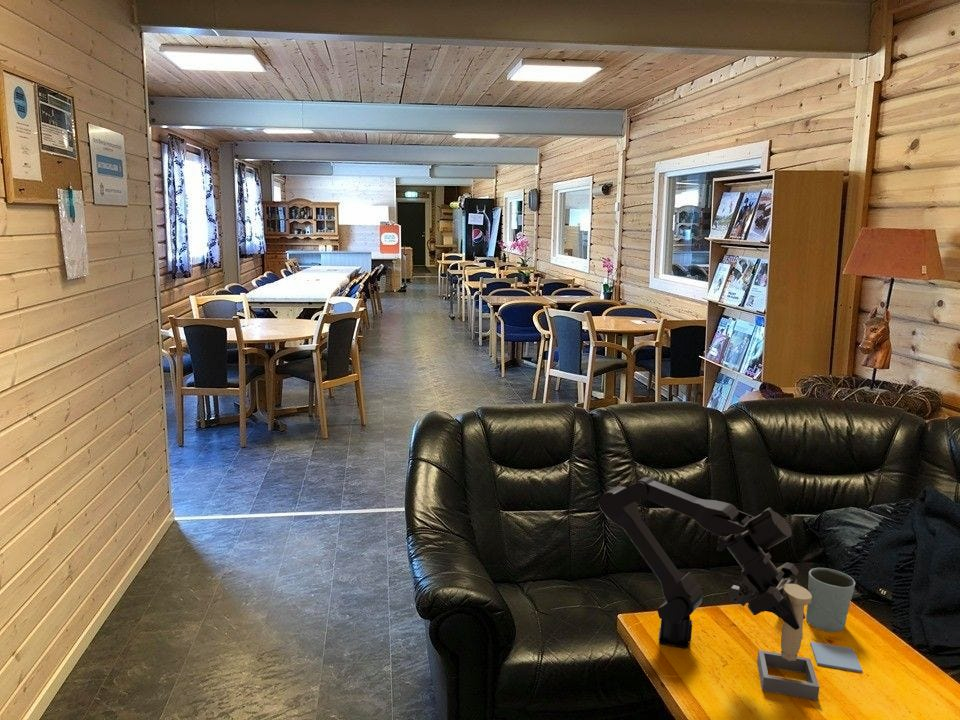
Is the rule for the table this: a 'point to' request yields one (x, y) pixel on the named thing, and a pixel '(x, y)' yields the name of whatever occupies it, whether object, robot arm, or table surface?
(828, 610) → the grey cup
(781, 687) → the grey square frame
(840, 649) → the mat
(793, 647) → the handle
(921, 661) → the table surface
